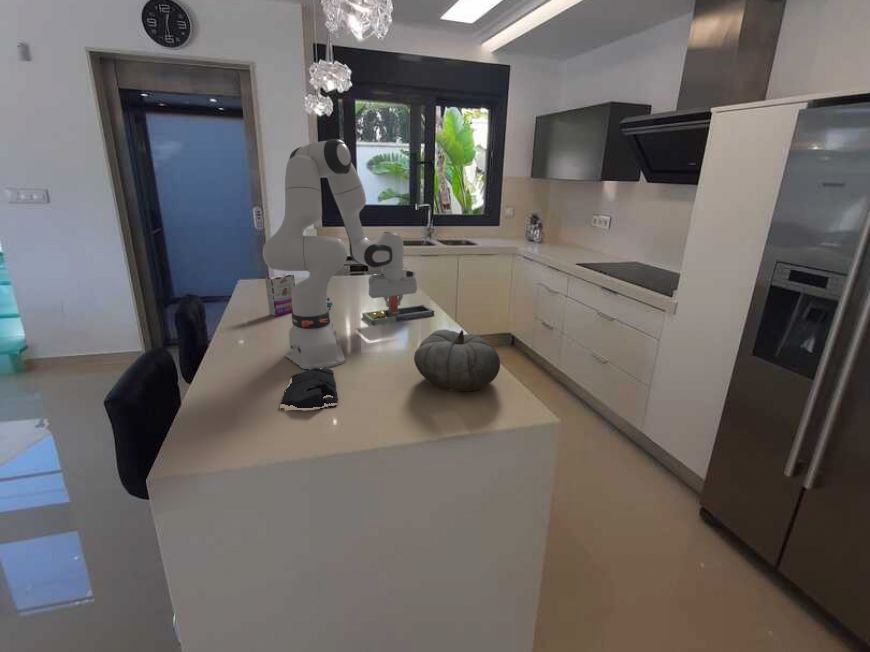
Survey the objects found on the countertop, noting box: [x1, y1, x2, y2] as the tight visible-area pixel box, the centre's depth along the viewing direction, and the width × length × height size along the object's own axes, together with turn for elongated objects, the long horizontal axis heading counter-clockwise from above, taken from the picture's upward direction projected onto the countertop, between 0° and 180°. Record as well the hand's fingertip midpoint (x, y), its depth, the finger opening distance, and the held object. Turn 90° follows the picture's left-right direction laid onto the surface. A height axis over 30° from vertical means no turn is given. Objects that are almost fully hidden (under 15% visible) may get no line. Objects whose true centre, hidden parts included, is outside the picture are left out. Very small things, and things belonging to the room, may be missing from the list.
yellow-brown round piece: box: [377, 310, 387, 319], centre depth 186 cm, size 4×4×4 cm
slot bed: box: [385, 304, 435, 322], centre depth 191 cm, size 10×18×3 cm, turn 119°
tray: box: [362, 309, 397, 326], centre depth 185 cm, size 11×10×3 cm
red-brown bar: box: [387, 295, 399, 317], centre depth 186 cm, size 6×3×10 cm, turn 29°
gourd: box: [413, 328, 501, 392], centre depth 132 cm, size 25×25×17 cm
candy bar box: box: [264, 272, 296, 317], centre depth 192 cm, size 11×5×16 cm, turn 143°
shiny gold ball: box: [370, 313, 378, 319], centre depth 184 cm, size 4×4×4 cm
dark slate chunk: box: [280, 368, 339, 408], centre depth 126 cm, size 15×22×5 cm
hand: (393, 305), depth 186 cm, fingers closed on red-brown bar, 3 cm apart
